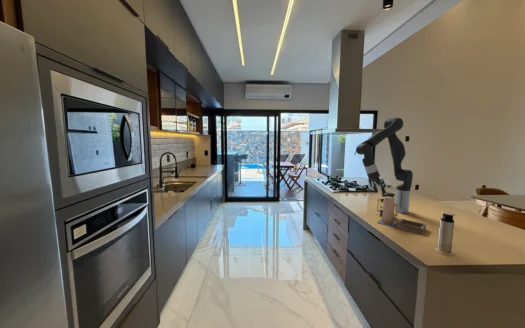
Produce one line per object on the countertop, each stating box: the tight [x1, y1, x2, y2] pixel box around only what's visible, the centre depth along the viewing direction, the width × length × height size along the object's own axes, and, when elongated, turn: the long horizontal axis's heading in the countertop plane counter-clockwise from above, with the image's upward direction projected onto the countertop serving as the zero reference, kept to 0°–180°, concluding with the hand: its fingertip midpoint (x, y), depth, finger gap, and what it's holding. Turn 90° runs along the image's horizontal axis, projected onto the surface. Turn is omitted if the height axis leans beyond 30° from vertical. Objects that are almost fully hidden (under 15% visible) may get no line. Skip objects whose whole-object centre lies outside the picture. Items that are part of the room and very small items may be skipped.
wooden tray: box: [396, 218, 427, 235], centre depth 142 cm, size 11×13×4 cm
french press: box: [376, 184, 396, 219], centre depth 165 cm, size 12×9×23 cm
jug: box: [381, 196, 399, 224], centre depth 150 cm, size 6×9×17 cm
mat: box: [376, 218, 398, 228], centre depth 151 cm, size 10×10×1 cm
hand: (380, 192), depth 156 cm, fingers open, 8 cm apart
